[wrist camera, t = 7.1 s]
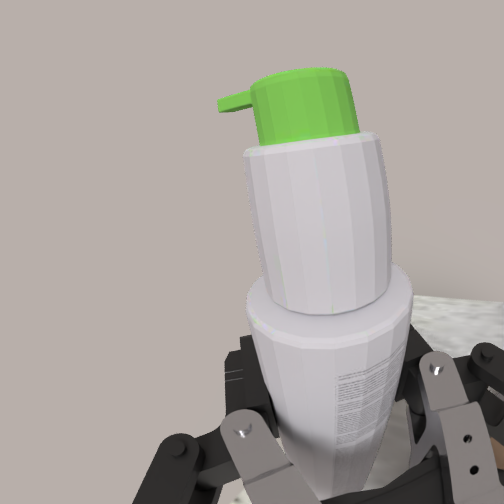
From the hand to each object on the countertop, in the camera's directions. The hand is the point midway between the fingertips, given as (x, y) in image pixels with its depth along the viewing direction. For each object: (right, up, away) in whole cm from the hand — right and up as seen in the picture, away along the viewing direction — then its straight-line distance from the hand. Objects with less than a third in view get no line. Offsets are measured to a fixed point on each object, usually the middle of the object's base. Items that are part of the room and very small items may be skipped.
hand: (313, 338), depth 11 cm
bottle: (+3, -11, +2) cm, 12 cm away
